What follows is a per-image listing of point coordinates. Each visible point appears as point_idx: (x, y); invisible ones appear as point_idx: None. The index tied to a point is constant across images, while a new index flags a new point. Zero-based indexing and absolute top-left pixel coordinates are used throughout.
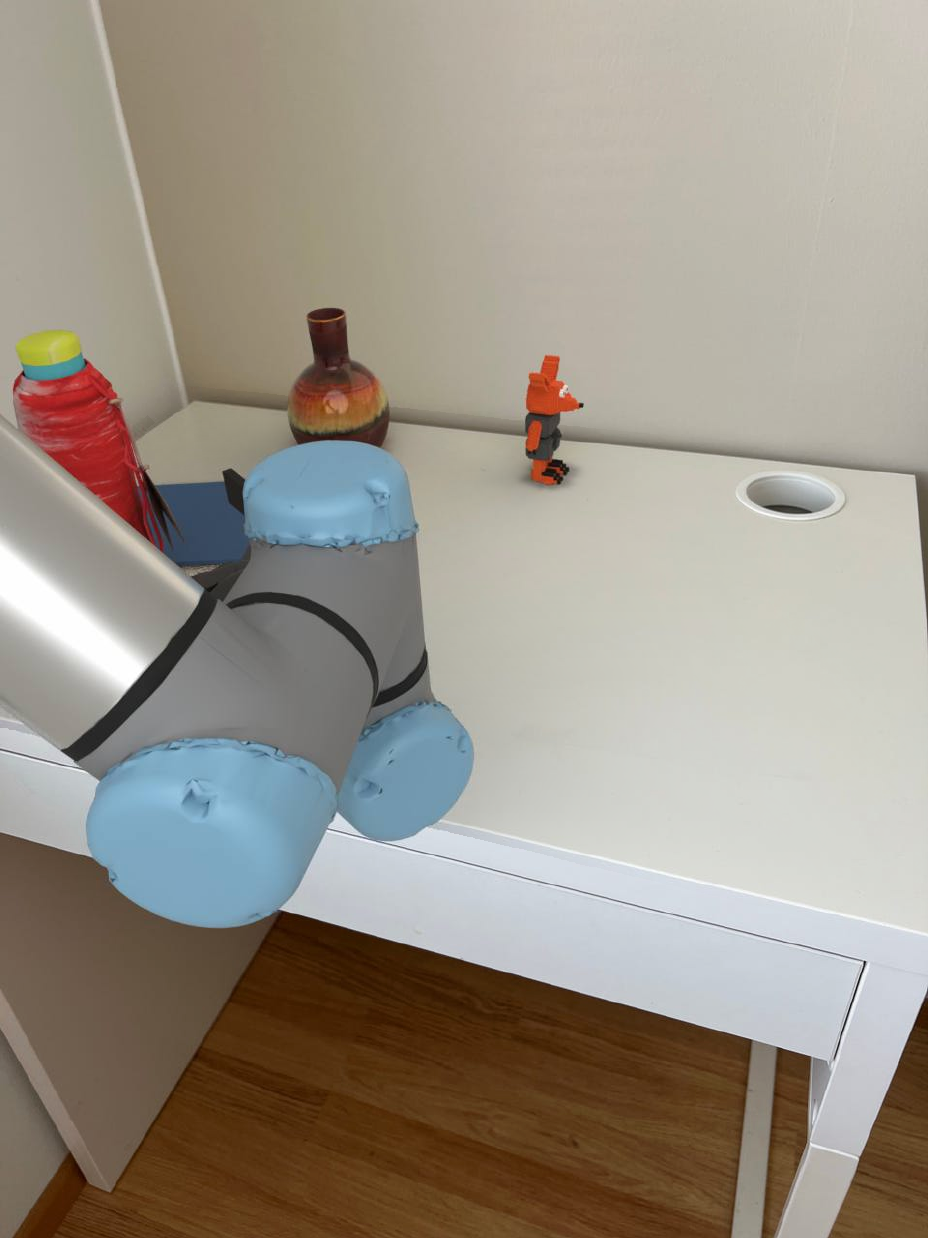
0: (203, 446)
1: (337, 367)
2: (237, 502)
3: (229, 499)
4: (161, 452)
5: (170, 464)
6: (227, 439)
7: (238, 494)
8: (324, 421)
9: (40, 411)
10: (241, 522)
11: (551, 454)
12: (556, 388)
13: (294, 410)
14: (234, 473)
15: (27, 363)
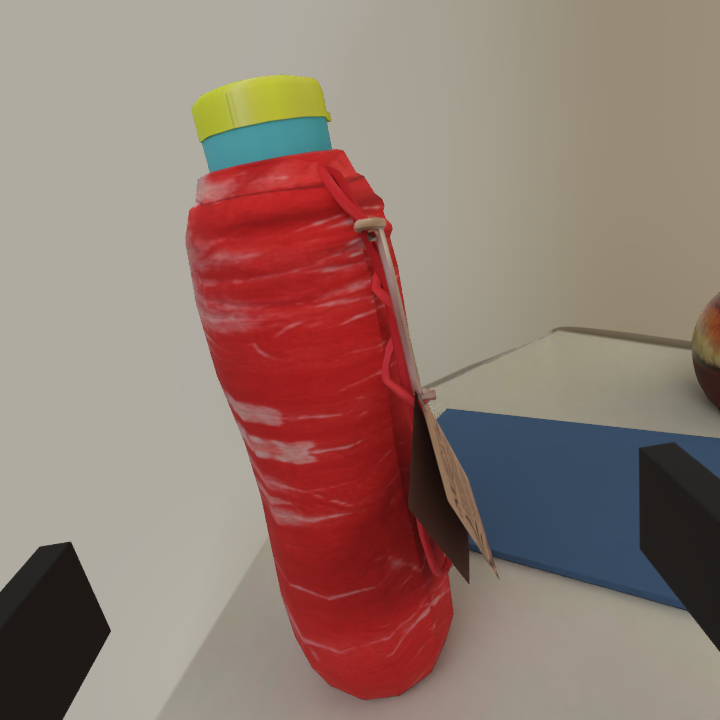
0: (561, 375)
1: None
2: (691, 582)
3: (646, 544)
4: (511, 376)
5: (518, 391)
6: (592, 371)
7: (712, 565)
8: None
9: (199, 238)
10: (608, 498)
11: None
12: None
13: (711, 338)
14: (693, 467)
15: (201, 136)
